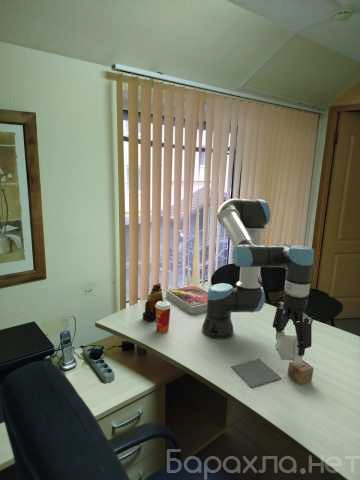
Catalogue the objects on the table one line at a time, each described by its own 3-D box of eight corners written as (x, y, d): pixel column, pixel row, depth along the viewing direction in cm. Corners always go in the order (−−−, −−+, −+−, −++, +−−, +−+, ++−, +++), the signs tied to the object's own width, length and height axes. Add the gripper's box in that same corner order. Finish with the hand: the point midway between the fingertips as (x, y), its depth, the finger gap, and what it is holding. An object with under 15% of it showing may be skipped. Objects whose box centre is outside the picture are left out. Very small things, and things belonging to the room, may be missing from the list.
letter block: (287, 376, 114) (289, 361, 113) (299, 372, 116) (300, 358, 115) (299, 386, 109) (301, 370, 107) (311, 381, 111) (313, 367, 110)
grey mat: (230, 367, 118) (230, 366, 118) (259, 359, 124) (259, 358, 123) (251, 388, 106) (251, 386, 106) (281, 378, 112) (281, 377, 112)
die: (296, 370, 96) (312, 345, 97) (273, 354, 97) (289, 329, 98) (288, 364, 104) (303, 341, 105) (267, 349, 105) (282, 326, 106)
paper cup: (154, 326, 148) (155, 300, 145) (170, 326, 148) (170, 300, 146) (154, 334, 140) (155, 307, 137) (170, 334, 141) (171, 307, 138)
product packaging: (192, 315, 162) (192, 307, 161) (166, 297, 185) (166, 290, 184) (222, 307, 174) (222, 299, 173) (194, 292, 197) (194, 284, 196)
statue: (156, 312, 163) (157, 278, 159) (164, 318, 157) (165, 282, 153) (137, 318, 155) (137, 282, 152) (145, 324, 149) (146, 287, 146)
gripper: (265, 283, 104) (259, 342, 109) (313, 307, 86) (303, 377, 91) (282, 281, 107) (275, 338, 112) (331, 304, 89) (321, 371, 94)
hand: (288, 355), depth 101 cm, fingers closed on die, 8 cm apart
